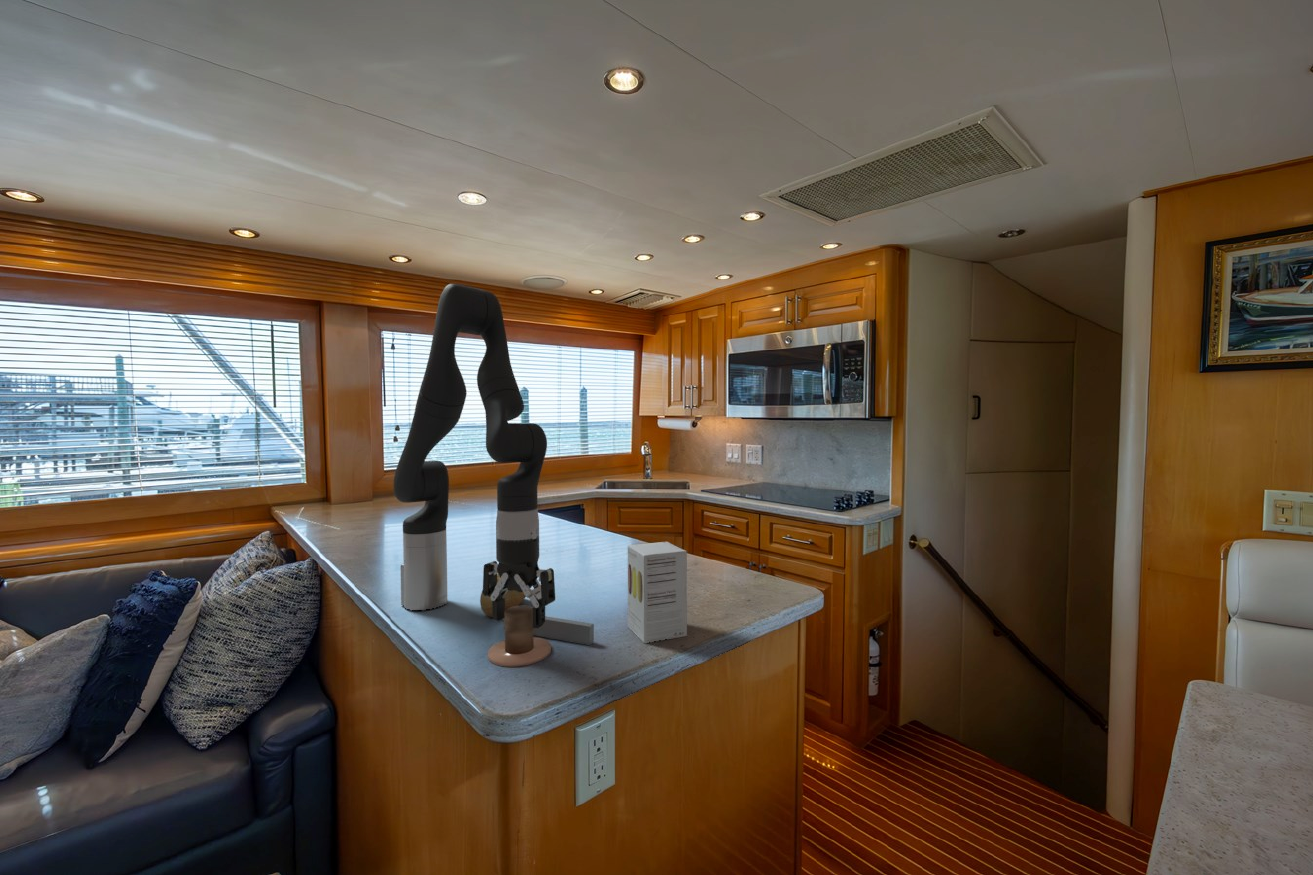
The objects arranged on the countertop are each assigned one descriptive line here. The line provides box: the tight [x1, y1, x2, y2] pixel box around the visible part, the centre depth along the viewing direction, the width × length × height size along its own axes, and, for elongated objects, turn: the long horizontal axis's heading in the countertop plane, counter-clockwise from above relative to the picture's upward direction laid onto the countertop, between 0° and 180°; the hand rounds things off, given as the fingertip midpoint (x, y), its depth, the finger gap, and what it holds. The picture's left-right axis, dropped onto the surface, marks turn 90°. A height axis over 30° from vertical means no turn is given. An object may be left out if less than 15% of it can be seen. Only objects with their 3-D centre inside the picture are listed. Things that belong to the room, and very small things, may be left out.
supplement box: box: [627, 541, 688, 644], centre depth 105 cm, size 10×9×17 cm
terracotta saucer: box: [487, 636, 552, 668], centre depth 96 cm, size 11×11×1 cm
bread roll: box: [479, 574, 527, 619], centre depth 120 cm, size 10×15×8 cm, turn 178°
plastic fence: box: [503, 615, 595, 646], centre depth 104 cm, size 20×2×4 cm, turn 67°
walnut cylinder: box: [504, 604, 534, 654], centre depth 96 cm, size 5×5×7 cm
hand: (518, 623), depth 96 cm, fingers open, 8 cm apart
